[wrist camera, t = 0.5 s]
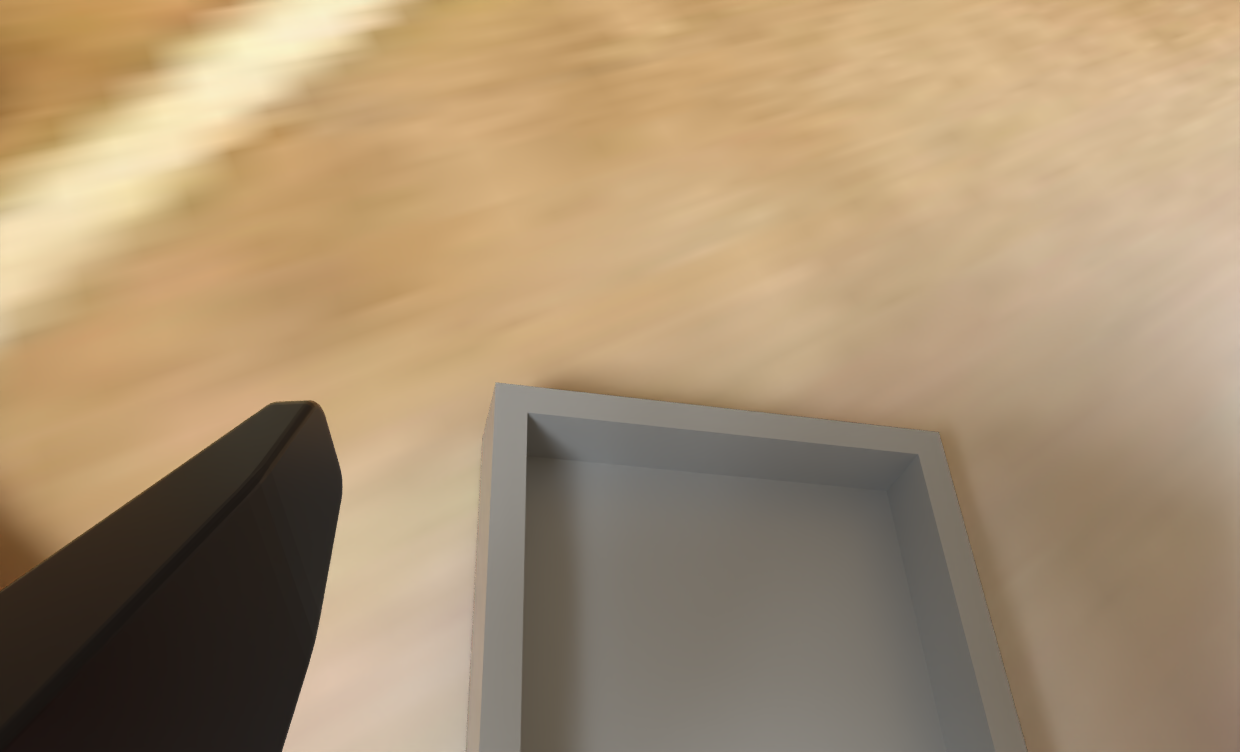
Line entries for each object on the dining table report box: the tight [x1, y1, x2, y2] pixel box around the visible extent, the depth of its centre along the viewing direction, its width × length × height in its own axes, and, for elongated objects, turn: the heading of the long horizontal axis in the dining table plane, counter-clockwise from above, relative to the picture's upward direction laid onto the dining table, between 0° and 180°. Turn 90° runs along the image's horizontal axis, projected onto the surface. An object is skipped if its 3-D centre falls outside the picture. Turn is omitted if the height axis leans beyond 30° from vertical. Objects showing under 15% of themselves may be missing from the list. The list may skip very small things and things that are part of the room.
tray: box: [466, 383, 1028, 752], centre depth 22 cm, size 16×12×2 cm
